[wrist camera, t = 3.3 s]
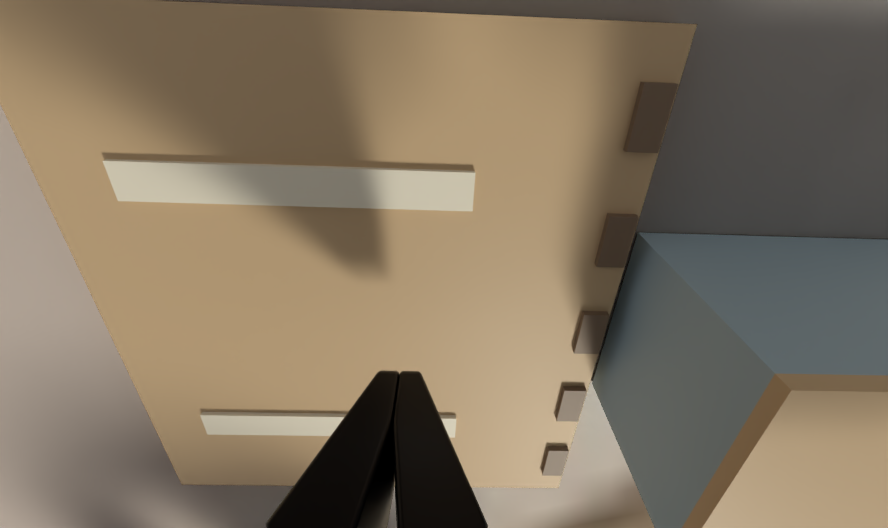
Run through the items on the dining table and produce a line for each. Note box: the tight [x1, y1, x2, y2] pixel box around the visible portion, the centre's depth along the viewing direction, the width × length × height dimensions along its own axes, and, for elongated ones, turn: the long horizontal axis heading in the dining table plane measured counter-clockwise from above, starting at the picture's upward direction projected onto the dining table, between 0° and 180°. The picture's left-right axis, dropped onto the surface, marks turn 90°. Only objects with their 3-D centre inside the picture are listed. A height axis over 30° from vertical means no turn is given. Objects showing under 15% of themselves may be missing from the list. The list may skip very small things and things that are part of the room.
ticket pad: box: [0, 0, 697, 488], centre depth 10 cm, size 12×13×1 cm
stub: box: [592, 233, 888, 528], centre depth 9 cm, size 7×5×5 cm
